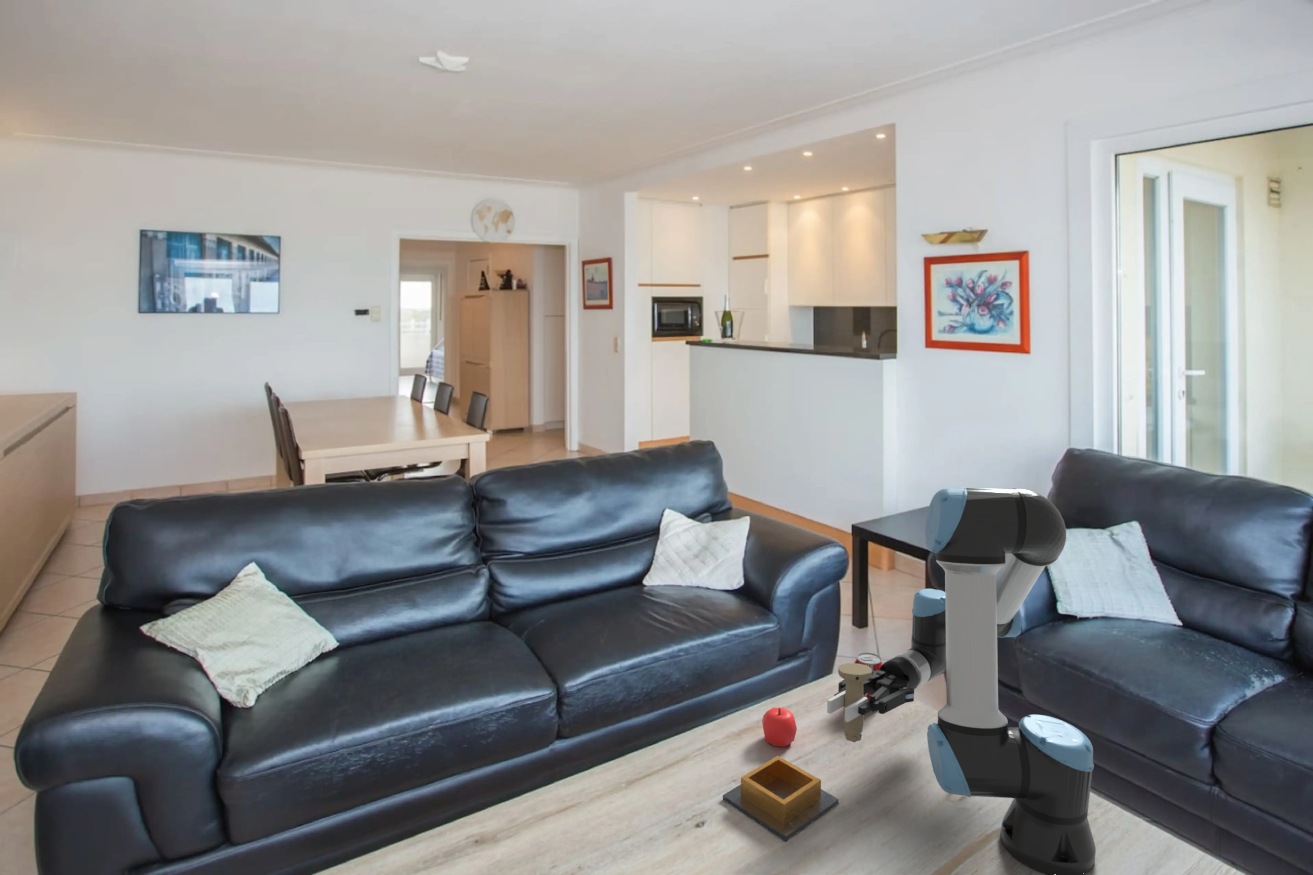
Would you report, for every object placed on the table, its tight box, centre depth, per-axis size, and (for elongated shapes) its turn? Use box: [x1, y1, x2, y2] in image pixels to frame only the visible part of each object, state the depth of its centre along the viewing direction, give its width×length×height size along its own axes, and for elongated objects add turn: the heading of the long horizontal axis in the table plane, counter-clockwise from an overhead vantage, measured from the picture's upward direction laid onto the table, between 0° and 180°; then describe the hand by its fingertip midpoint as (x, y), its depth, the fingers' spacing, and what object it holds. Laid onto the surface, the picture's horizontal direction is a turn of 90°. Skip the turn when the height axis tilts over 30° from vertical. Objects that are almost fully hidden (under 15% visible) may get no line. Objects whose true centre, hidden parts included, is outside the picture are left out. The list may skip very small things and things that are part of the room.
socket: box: [722, 755, 840, 842], centre depth 152 cm, size 16×16×5 cm
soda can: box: [853, 652, 884, 701], centre depth 187 cm, size 7×7×12 cm
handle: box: [837, 662, 872, 743], centre depth 155 cm, size 5×6×15 cm
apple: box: [761, 707, 798, 747], centre depth 173 cm, size 8×8×8 cm
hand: (837, 710), depth 151 cm, fingers closed on handle, 3 cm apart
